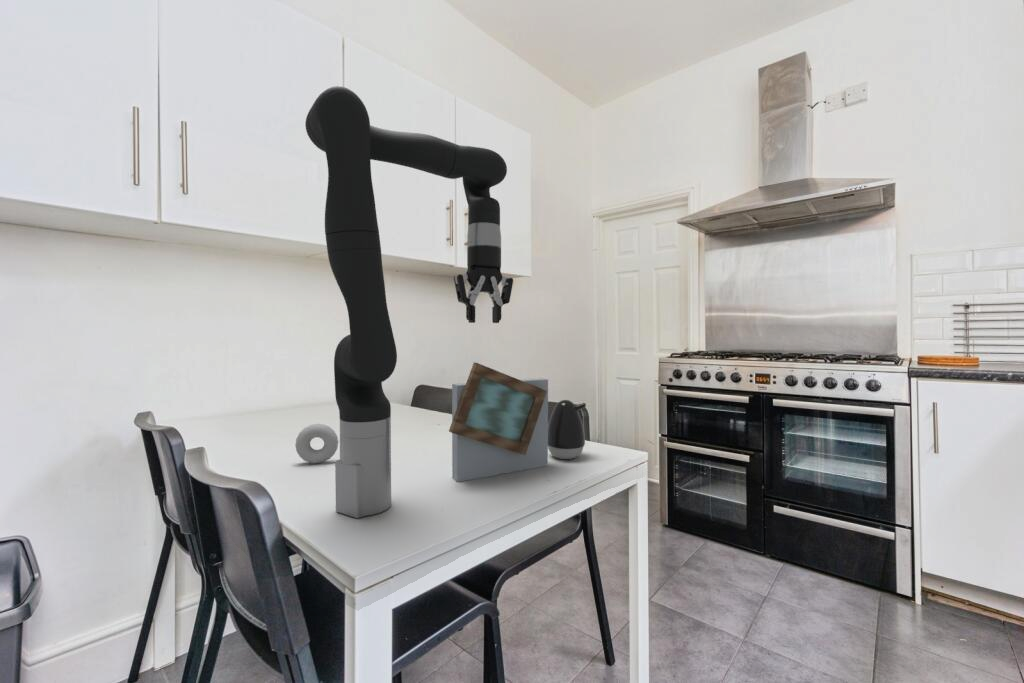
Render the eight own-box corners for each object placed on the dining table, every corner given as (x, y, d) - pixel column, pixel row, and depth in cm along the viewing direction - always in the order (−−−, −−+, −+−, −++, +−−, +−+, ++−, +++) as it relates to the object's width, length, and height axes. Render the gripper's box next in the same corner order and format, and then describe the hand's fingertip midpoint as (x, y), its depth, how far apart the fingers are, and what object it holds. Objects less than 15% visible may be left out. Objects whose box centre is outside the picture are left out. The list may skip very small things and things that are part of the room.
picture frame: (451, 432, 95) (476, 362, 97) (448, 431, 96) (473, 362, 99) (525, 455, 104) (547, 390, 106) (522, 453, 105) (543, 390, 108)
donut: (294, 466, 108) (293, 426, 108) (297, 462, 112) (296, 423, 111) (337, 463, 111) (337, 424, 110) (339, 459, 114) (339, 421, 114)
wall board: (457, 481, 98) (457, 385, 97) (452, 477, 101) (452, 383, 100) (547, 465, 110) (548, 379, 109) (541, 462, 112) (541, 378, 112)
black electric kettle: (588, 462, 112) (589, 403, 112) (547, 462, 112) (548, 403, 112) (582, 451, 122) (582, 396, 122) (544, 451, 122) (545, 396, 122)
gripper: (460, 240, 91) (460, 322, 92) (520, 246, 98) (520, 323, 99) (447, 246, 98) (447, 322, 99) (504, 251, 105) (504, 323, 105)
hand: (484, 322), depth 99 cm, fingers open, 5 cm apart
